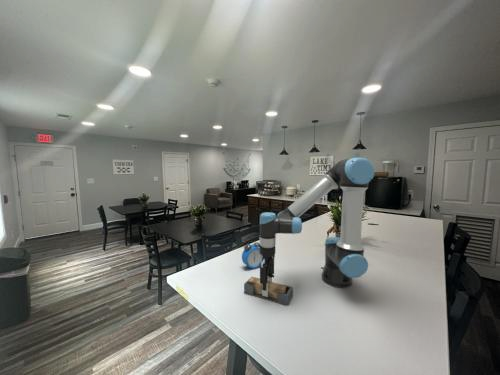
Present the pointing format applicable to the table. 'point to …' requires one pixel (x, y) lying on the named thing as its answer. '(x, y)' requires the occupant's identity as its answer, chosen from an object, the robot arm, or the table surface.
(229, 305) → the table surface
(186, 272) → the table surface
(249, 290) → the gray cradle tray
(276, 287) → the long wooden block
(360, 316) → the table surface
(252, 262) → the alarm clock
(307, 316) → the table surface
